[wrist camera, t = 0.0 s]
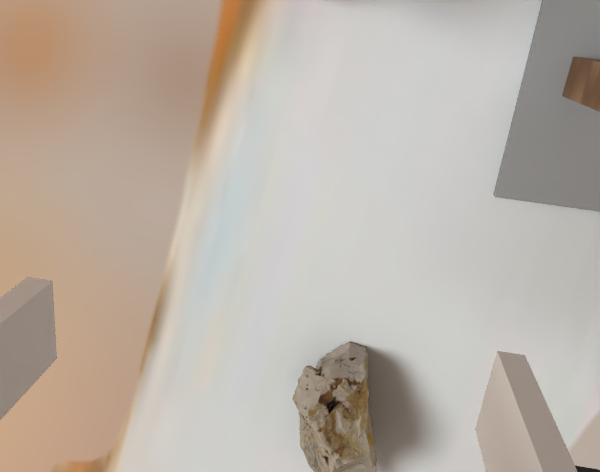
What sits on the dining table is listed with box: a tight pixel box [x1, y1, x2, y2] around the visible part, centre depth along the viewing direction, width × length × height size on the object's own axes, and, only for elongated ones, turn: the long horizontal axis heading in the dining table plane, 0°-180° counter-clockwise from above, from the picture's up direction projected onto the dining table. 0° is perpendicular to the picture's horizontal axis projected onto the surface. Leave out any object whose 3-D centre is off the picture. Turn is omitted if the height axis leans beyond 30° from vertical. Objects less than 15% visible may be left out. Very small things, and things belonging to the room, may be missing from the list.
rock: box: [293, 342, 376, 472], centre depth 47 cm, size 12×7×10 cm, turn 179°
